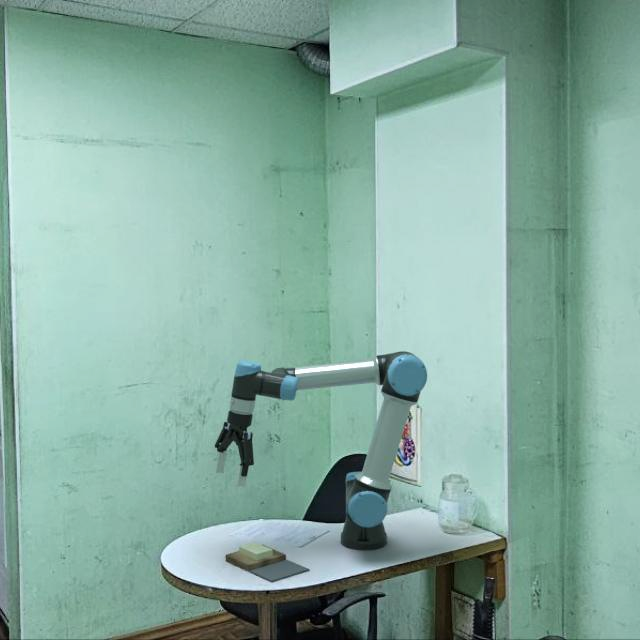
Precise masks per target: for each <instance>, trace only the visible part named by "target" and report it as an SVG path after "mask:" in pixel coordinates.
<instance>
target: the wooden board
mask: <svg viewBox="0 0 640 640" xmlns="http://www.w3.org/2000/svg"><path fill="white" fill-rule="evenodd" d="M262 545H263V546H265V547H267V548H270V549H272V550H273V556H271V557H268V558H264V559H261V560H257V561H256V560H254V559H252V558H249V557H247V556H245V555H243V554H240V553H239V550H238V551H234V552H231V553H228V554H225V562H226V563H229V564H231V565H233V566H235V567H238V568H240V569H241V570H244V571H246V572H248V573H250V570H254V569H257V568H261V567H264V566H267V565H271V564H274V563H277V562H281V561H284V560H287V554H286V553H284V552H281V551H279V550H276V549H274V548H272V547H269V546H267V545H264V544H262Z"/></svg>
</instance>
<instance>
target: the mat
mask: <svg viewBox="0 0 640 640" xmlns="http://www.w3.org/2000/svg"><path fill="white" fill-rule="evenodd" d="M309 571H310V568H309V567H305V566H303V565H301V564H298V563H296V562H294V561H292V560H289V559H286V560H284V561H281V562H277V563H274V564H271V565H267V566H264V567H261V568H257V569H254V570H250V572H249V573H250V574H253V575H255V576H257V577H259V578H261V579H264V580H265V581H268V582H270V583H274V582H278V581H280V580H284V579H287V578H291V577H294V576H297V575H299V574H303V573H306V572H309Z"/></svg>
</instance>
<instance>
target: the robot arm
mask: <svg viewBox="0 0 640 640" xmlns="http://www.w3.org/2000/svg"><path fill="white" fill-rule="evenodd" d="M234 372H235V373H234V376H233V383H232V389H231V397H230V401H229V408H228V409H229V410H228V413H227V420H226V421H224V422H223V425H222V426H223V427H222V429H221V432H220V433H219V436H218V437H217V439H216V441H215V443H214V448H215V449H216V452H217V456H216V462H215V468H214V473H215V474H223V473H224V472H225V464H226V459H227V452H228V448H229V447H230V446H231V444H233V442H234V443H235V445H236V446H237V448H238V453H239V458H240V463H239V467H238V473H237V478H236V484H235V486H236V487H246V483H247V482H246V481H247V477H248V472H249V467H250V466H254V465H255V459H254V447H253V445H254V444H253V435H254V434H253V432H252V431H250V432H249V431H248V427H251V426H252V422H253V418H254V415H253V413H254V411H255V405H256V398H257V396H261V397H262V396H263V397H267V398H272V399H277V400H282V401H295V399H296V395H297V391H305V390H314V389H315V390H316V389H324V388H333V387H335V388H336V387H343V386H344V387H345V386H346V387H347V386H353V385H354V386H355V385H364V384H365V385H366V384H377V386H382V387H381V389H380V393H381V395H382V397H383V401H382V404H381V406H380V407H381V408H380V411H379V413H378V417H377V420H376V424H375V427H374V430H373V433H372V437H371V441H370V443H369V444H370V445H369V447H368V451H367V455H366V457H365V460H364V464H363V468H362V471H353V472H352V471H351V472H348V473H347V474H346V476H345V521H344V523H343V528H342V531H341V533H340V544H341V545H342V546H344V547H346V548H349V549H353V550H354V549H355V550H362V551H363V550H364V551H365V550H375V549H380V548H383V547H385V546H386V545H387V544H388V534H387V532H386V530H385V525H384V523H383V521H384V520H385V518H386V516H387V513H388V501H389V499H390V494H391V490H392V485H391V482H390V478H391V475H392V471H393V467H394V464H395V460H396V458H397V454H398V451H399V447H400V443H401V440H402V438H403V434H404V431H405V428H406V423H407V420H408V418H409V414H410V411H411V408H412V407H413V406H415V405H416V404H418V401H419V400H420V399H419V398H420V397H421V396H420V394H421V392H422V390H423V389H424V388H425V386H426V384H427V380H428V371H427V367H426V365H425V363H424V362H423V361H422V360H421V359H420V358H419V357H418V356H416V355H415V354H414V353H412V352H409V351H405V350H404V351H395V352H391V353H386V354H377V355H375V356H373V358H371V359H363V360H362V359H361V360H351V361H350V360H349V361H343V362H333V363H332V362H331V363H324V364H313V365H304V366H295V367H276V368H274V369H273V370H272V371H269V372H268V371H264V370H262V365H261V364H260V363H257V362H254V361H248V360H241V361H238V362H237V363H236V367H235V371H234Z"/></svg>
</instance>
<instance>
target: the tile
mask: <svg viewBox="0 0 640 640" xmlns="http://www.w3.org/2000/svg"><path fill="white" fill-rule="evenodd" d="M263 545H264V544H260V543H258V542H252V543H248V544H244V545H239V546H238V548H239V549H238V551H239V553H240V554H243V555H245V556H247V557H249V558H252V559H254V560H256V561H257V560H261V559H264V558H268V557H271V556H273V550H272V549H273V548H272V549H270V548H271V547H269V548H267V547H268V546H267V547H265V546H266V545H265V546H263Z"/></svg>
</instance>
